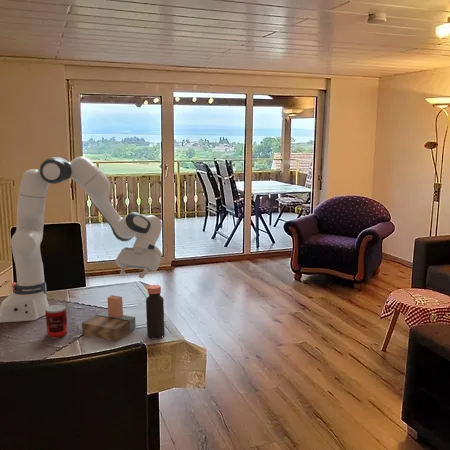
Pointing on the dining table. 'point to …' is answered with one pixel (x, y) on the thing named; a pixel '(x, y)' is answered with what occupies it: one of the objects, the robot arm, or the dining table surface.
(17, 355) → the dining table surface
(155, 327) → the bottle
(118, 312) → the stub
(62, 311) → the canned food
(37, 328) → the dining table surface
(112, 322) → the block
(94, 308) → the dining table surface
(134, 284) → the dining table surface
